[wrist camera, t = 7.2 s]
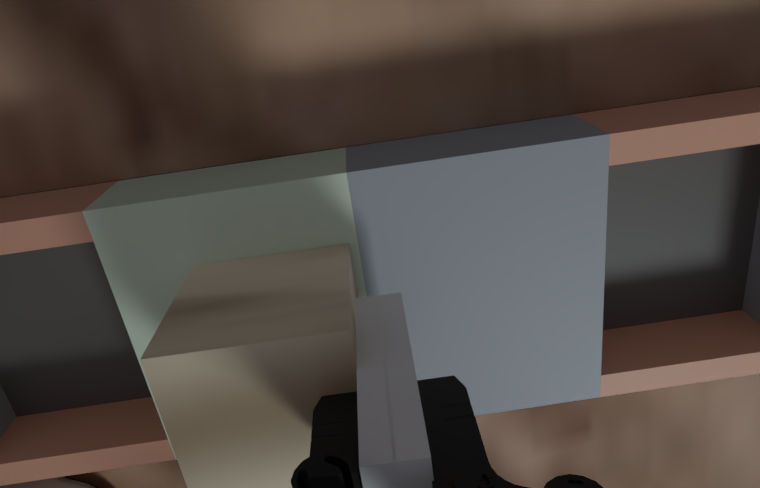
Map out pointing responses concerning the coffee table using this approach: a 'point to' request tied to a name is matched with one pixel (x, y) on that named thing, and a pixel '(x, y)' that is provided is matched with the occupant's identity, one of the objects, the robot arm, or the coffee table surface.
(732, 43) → the coffee table surface
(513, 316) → the trap runway
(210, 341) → the birch block
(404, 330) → the robot arm
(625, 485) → the coffee table surface
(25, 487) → the supplement can
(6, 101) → the coffee table surface
